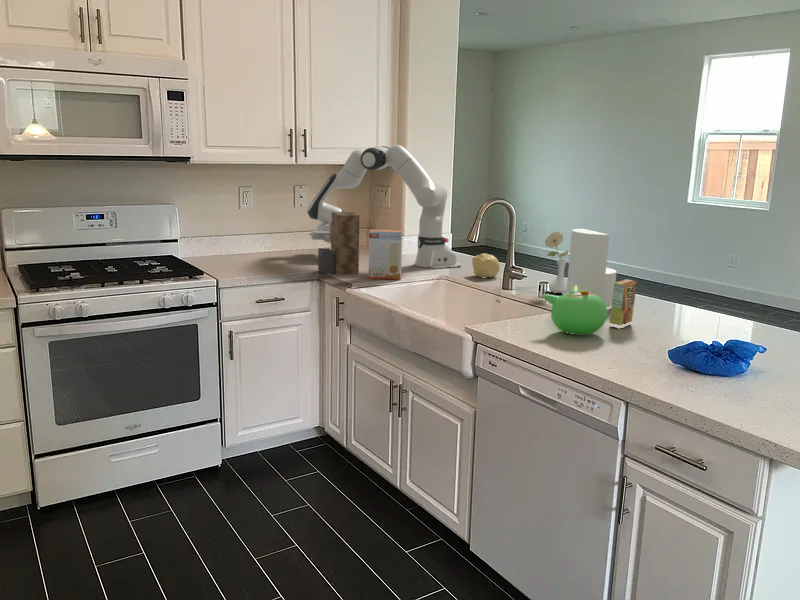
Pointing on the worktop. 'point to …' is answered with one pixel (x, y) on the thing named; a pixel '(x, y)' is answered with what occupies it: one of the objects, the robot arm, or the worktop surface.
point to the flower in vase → (559, 283)
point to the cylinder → (591, 264)
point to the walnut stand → (345, 242)
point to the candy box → (623, 302)
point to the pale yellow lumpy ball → (485, 265)
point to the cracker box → (385, 254)
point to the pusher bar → (330, 232)
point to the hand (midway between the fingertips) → (334, 237)
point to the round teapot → (577, 311)
